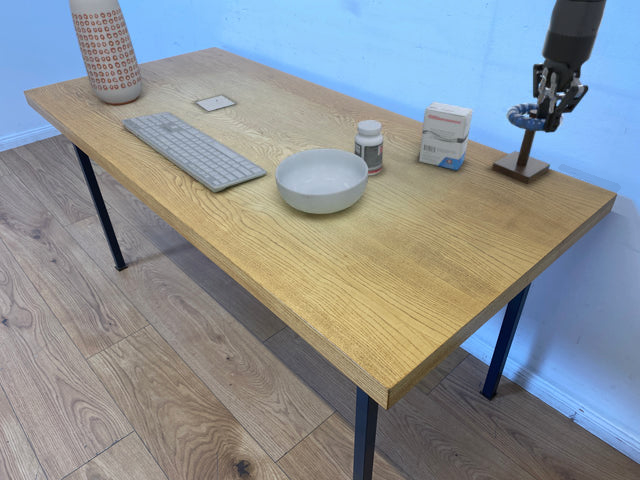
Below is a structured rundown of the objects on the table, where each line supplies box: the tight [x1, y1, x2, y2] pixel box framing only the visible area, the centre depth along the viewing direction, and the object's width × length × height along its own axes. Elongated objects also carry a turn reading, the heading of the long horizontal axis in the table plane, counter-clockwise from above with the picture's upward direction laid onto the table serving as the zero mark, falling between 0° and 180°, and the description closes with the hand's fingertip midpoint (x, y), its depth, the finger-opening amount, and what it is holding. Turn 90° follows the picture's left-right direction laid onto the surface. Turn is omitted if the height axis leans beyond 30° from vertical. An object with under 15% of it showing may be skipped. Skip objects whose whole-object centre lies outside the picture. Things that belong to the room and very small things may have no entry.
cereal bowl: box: [274, 147, 369, 215], centre depth 87 cm, size 17×17×7 cm
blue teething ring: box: [505, 102, 564, 132], centre depth 90 cm, size 10×10×2 cm
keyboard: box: [120, 111, 267, 193], centre depth 106 cm, size 44×12×2 cm, turn 41°
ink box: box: [418, 101, 474, 171], centre depth 97 cm, size 8×5×12 cm, turn 59°
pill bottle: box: [354, 119, 384, 176], centre depth 95 cm, size 6×6×10 cm
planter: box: [68, 0, 143, 106], centre depth 124 cm, size 13×13×28 cm
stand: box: [491, 110, 551, 185], centre depth 93 cm, size 8×8×12 cm
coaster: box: [195, 95, 236, 112], centre depth 128 cm, size 8×8×1 cm
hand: (544, 127), depth 87 cm, fingers closed on blue teething ring, 2 cm apart
